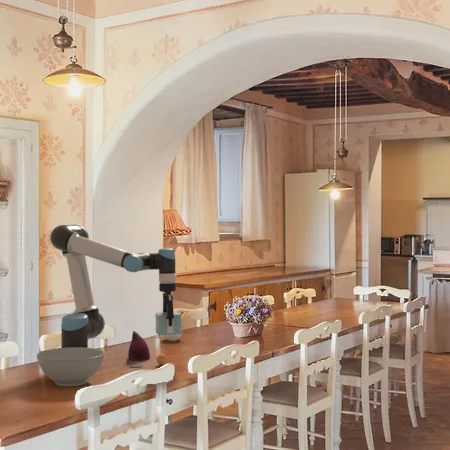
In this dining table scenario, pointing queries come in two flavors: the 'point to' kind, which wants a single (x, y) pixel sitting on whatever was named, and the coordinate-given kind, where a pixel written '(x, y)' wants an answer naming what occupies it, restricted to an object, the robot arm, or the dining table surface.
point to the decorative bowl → (70, 364)
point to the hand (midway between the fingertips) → (168, 331)
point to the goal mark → (135, 366)
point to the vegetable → (138, 348)
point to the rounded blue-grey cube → (162, 323)
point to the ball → (162, 359)
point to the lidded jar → (173, 336)
